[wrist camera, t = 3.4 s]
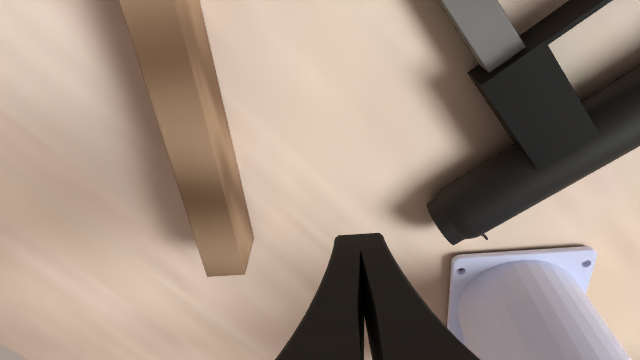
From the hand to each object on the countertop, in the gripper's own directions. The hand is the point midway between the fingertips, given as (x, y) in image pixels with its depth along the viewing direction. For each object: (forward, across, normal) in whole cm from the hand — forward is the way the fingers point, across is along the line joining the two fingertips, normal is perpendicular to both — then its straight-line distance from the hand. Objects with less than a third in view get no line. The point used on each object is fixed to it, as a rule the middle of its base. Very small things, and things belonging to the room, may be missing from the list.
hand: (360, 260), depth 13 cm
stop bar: (+10, +7, -5) cm, 13 cm away
